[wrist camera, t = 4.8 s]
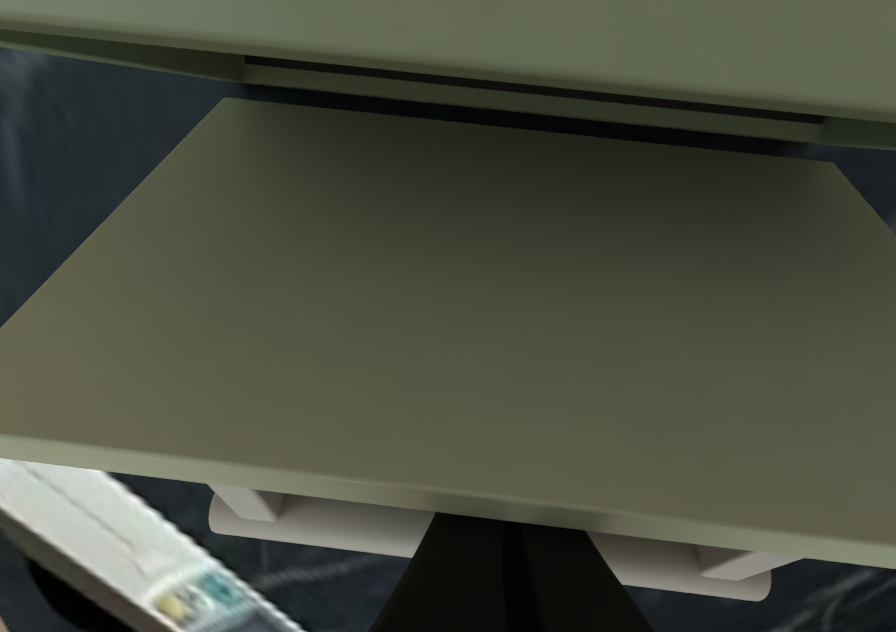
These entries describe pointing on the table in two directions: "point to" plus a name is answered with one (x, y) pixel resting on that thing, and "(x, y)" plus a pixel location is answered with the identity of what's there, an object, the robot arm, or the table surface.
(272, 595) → the table surface
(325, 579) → the table surface
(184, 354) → the oven door
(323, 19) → the oven
